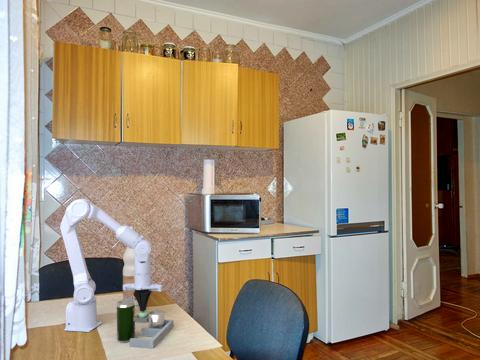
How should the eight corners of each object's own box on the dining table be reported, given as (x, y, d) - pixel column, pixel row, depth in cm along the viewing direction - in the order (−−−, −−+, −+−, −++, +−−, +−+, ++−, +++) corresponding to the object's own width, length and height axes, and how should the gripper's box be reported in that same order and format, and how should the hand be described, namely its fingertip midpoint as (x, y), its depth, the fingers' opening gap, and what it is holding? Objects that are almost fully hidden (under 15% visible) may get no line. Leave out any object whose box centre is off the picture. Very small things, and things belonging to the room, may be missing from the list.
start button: (137, 319, 131) (137, 313, 131) (141, 316, 134) (141, 310, 134) (145, 319, 130) (145, 314, 130) (148, 316, 133) (148, 311, 133)
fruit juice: (123, 307, 146) (122, 237, 146) (122, 300, 155) (121, 234, 155) (147, 304, 149) (147, 235, 149) (145, 298, 158) (144, 233, 158)
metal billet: (146, 333, 120) (146, 315, 120) (152, 327, 125) (152, 310, 125) (160, 334, 119) (160, 316, 119) (166, 328, 124) (166, 310, 124)
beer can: (119, 345, 112) (119, 305, 112) (115, 339, 116) (114, 301, 116) (137, 340, 115) (136, 302, 115) (132, 334, 119) (131, 297, 119)
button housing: (133, 322, 130) (133, 317, 130) (139, 317, 135) (139, 313, 135) (146, 323, 129) (146, 318, 129) (152, 318, 134) (152, 313, 134)
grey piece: (129, 346, 110) (129, 339, 110) (152, 325, 127) (152, 318, 127) (153, 348, 109) (153, 340, 109) (173, 326, 126) (173, 320, 126)
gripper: (118, 274, 130) (118, 313, 129) (157, 275, 127) (157, 315, 127) (127, 270, 137) (128, 306, 136) (164, 271, 134) (165, 308, 134)
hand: (143, 310), depth 132 cm, fingers closed
